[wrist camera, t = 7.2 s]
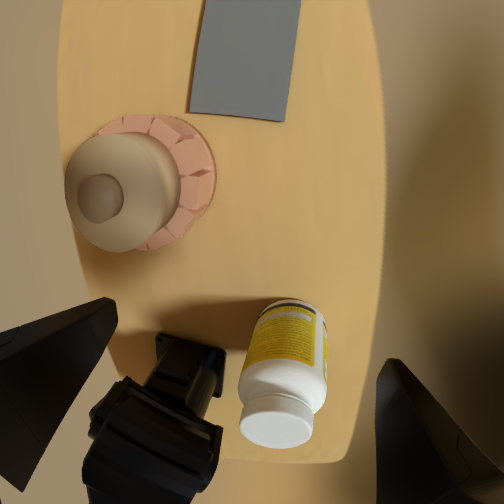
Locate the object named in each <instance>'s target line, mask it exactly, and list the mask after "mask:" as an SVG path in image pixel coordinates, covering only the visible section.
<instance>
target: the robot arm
mask: <svg viewBox="0 0 504 504" xmlns="http://www.w3.org/2000/svg"><path fill="white" fill-rule="evenodd" d="M117 324H118V314H117V308H116V302H115V301H114V300H113V299H110V298H107V297H102V298H100V299H97V300H94V301H91V302H88V303H85V304H82V305H79V306H76V307H73V308H71V309H68V310H65V311H62V312H59V313H56V314H53V315H50V316H47V317H44V318H42V319H39V320H36V321H33V322H30V323H27V324H24V325H21V326H20V327H16V328H13V329H10V330H7V331H4V332H1V333H0V475H1V476H2V477H3V478H5V479H6V480H7V481H8V482H9V483H10V484H12V485H13V486H14V487H16V488H17V489H18V490H19V491H20V492H23V491H24V490H25V488H26V486H27V484H28V482H29V480H30V478H31V476H32V474H33V472H34V470H35V468H36V466H37V464H38V463H39V461H40V459H41V457H42V455H43V453H44V452H45V450H46V449H45V448H46V447H47V446H48V444H49V442H50V440H51V439H52V437H53V435H54V433H55V431H56V430H57V428H58V426H59V425H60V423H61V421H62V419H63V418H64V416H65V414H66V413H67V411H68V409H69V408H70V406H71V404H72V403H73V401H74V399H75V398H76V396H77V395H78V393H79V391H80V390H81V388H82V386H83V385H84V383H85V382H86V380H87V379H88V377H89V375H90V374H91V372H92V371H93V369H94V368H95V366H96V364H97V363H98V361H99V359H100V358H101V356H102V354H103V352H104V350H105V348H106V346H107V344H108V342H109V340H110V338H111V336H112V335H113V333H114V331H115V329H116V327H117ZM161 338H162V339H161ZM155 340H156V351H157V363H156V365H155V366H154V368H153V370H152V371H151V373H150V374H149V376H148V378H147V379H146V381H145V383H144V384H143V386H141V385H139V384H138V383H136V382H135V381H133V380H132V378H130V377H128V376H126V377H125V378H124V379H123V380H122V381H119V382H115V383H114V385H113V386H112V388H111V389H110V391H109V392H108V393H107V395H106V396H105V397H104V398H103V399H102V400H100V401H99V402H98V403H97V404H96V405H95V406H94V407H93V408H92V409H91V411H90V412H89V416H90V420H91V423H90V429H89V432H88V436H89V437H90V438H92V439H93V440H94V441H93V443H92V445H91V447H90V449H89V451H88V453H87V455H86V457H85V458H84V461H83V467H82V481H83V483H84V484H85V485H86V487H87V493H88V498H89V504H190V502H191V501H192V499H193V497H194V496H195V494H196V493H201V492H203V490H205V489H206V487H207V486H208V485H209V483H210V481H211V480H212V478H213V476H214V473H215V471H216V468H217V465H218V460H219V454H220V447H221V440H222V433H223V427H221V426H219V425H214V424H212V423H210V422H208V421H206V420H203V418H204V416H205V413H206V411H207V408H208V405H209V403H210V400H211V398H212V397H216V398H220V397H221V395H222V391H223V381H224V372H225V363H226V352H225V351H224V350H222V349H219V348H215V347H211V346H207V345H203V344H199V343H195V342H192V341H188V340H184V339H181V338H177V337H174V336H170V335H167V334H163V333H158V334H157V336H156V337H155ZM219 354H221V355H219ZM375 408H376V409H375V437H376V464H377V465H376V466H377V467H376V469H377V492H376V504H504V473H503V471H501V469H499V467H497V465H495V464H494V463H493V462H492V461H491V460H490V459H489V458H488V457H487V456H486V455H485V454H484V453H483V452H482V451H481V450H480V449H479V448H478V446H477V445H476V444H475V443H474V442H473V441H472V440H471V439H470V438H469V437H468V435H467V434H466V433H465V432H464V431H463V430H462V429H460V426H459V425H458V424H457V423H456V421H455V420H454V419H453V418H452V417H451V416H450V415H449V413H447V411H446V410H445V409H444V408H443V407H442V406H441V404H440V403H439V402H438V401H437V400H436V399H435V397H434V396H433V395H432V394H431V393H430V392H429V391H428V390H427V389H426V387H425V386H424V385H423V384H422V383H421V382H420V381H419V380H418V379H417V377H415V375H414V374H413V373H412V372H411V371H410V370H409V369H408V367H407V366H406V365H405V364H404V363H403V362H402V361H401V360H400V359H395V358H388V359H387V360H386V361H385V364H384V365H383V367H382V369H381V371H380V373H379V375H378V377H377V382H376V407H375ZM0 504H1V500H0Z"/></svg>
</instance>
